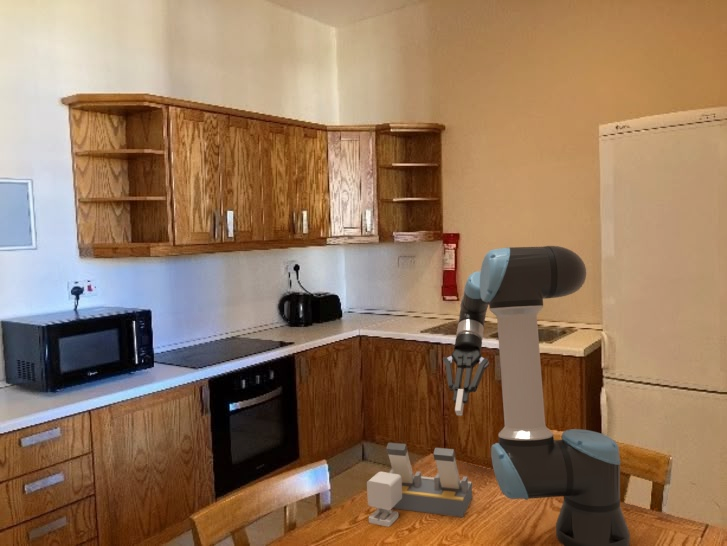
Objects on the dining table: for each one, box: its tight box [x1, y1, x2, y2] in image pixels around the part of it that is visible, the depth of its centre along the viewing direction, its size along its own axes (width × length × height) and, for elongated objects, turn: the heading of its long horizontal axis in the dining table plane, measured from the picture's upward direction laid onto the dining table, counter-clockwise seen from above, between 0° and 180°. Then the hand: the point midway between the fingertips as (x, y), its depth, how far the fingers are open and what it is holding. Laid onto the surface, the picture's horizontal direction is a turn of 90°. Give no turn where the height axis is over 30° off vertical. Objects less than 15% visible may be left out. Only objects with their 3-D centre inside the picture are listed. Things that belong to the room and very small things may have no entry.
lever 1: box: [385, 442, 414, 485], centre depth 157 cm, size 5×2×13 cm, turn 69°
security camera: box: [366, 471, 402, 528], centre depth 150 cm, size 6×7×10 cm
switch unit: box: [388, 468, 473, 518], centre depth 158 cm, size 20×11×7 cm, turn 69°
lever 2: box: [432, 447, 462, 490], centre depth 152 cm, size 5×2×13 cm
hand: (458, 413), depth 165 cm, fingers closed
